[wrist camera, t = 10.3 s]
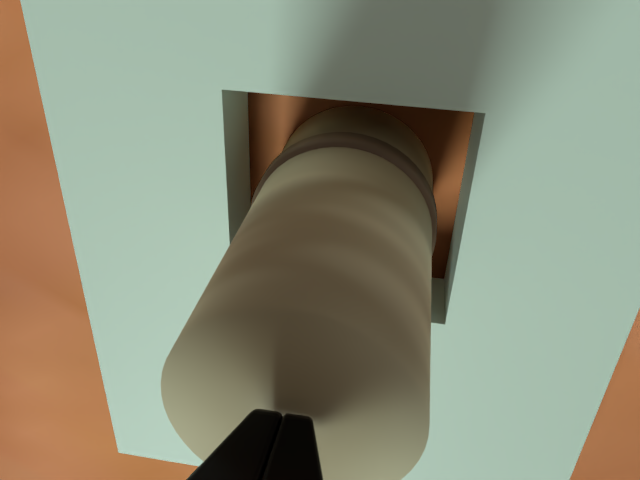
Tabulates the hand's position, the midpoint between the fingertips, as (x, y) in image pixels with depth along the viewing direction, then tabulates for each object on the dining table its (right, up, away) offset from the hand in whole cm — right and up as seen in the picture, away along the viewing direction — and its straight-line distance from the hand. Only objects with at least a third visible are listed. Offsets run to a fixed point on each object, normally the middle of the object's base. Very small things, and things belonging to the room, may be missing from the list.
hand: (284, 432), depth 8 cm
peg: (+1, +4, +7) cm, 8 cm away
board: (+1, +3, +8) cm, 9 cm away
